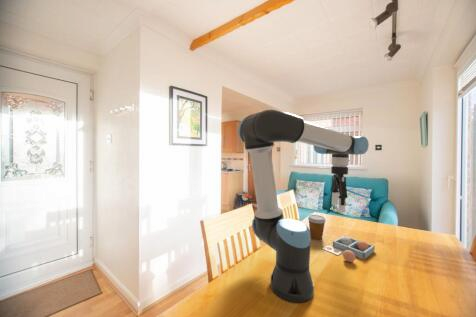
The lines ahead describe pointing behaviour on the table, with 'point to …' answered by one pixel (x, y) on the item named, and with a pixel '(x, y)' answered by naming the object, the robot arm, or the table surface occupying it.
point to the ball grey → (346, 241)
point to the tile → (333, 250)
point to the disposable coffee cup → (316, 226)
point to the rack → (353, 247)
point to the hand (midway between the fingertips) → (337, 208)
